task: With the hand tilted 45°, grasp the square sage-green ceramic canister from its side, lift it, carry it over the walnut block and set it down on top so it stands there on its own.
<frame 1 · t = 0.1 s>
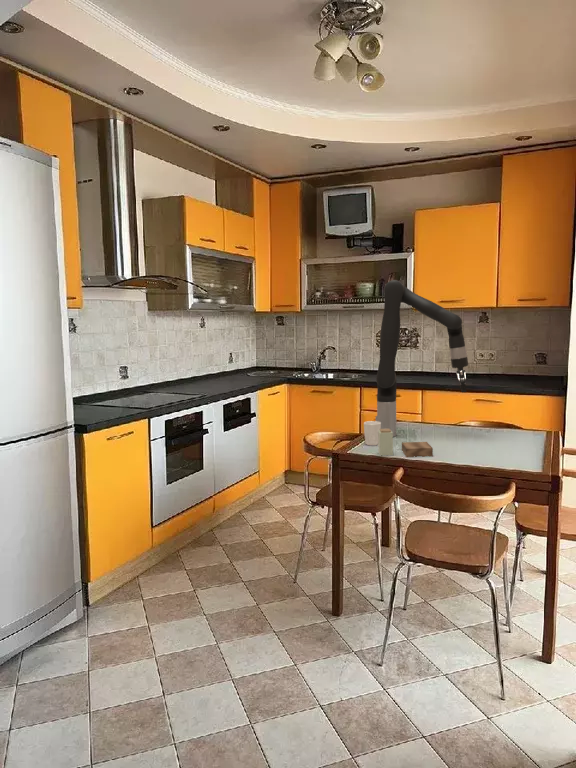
hand: (463, 390, 268), 22 cm above the table, tool pointing down, fingers open, 8 cm apart
canister: (385, 454, 246), on the table
white cup: (372, 444, 265), on the table
walnut block: (416, 454, 246), on the table
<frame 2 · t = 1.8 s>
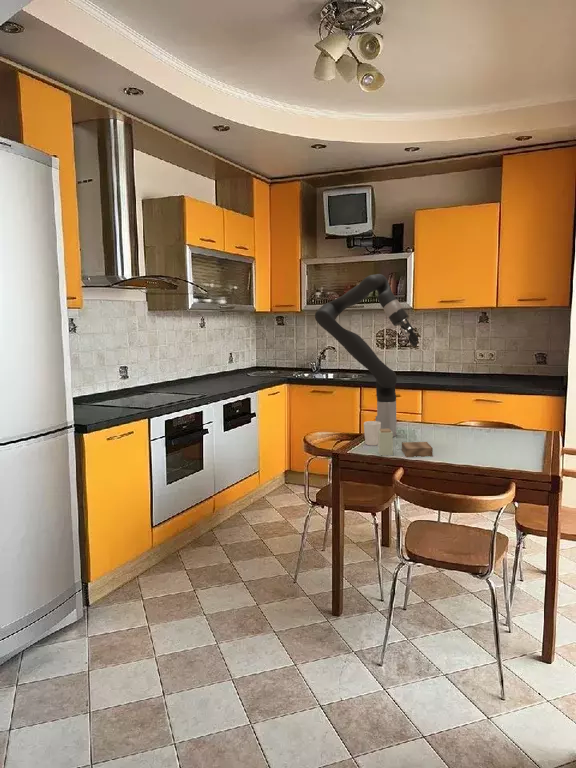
hand: (416, 343, 245), 47 cm above the table, tool tilted 35°, fingers open, 8 cm apart
nothing on the table moved.
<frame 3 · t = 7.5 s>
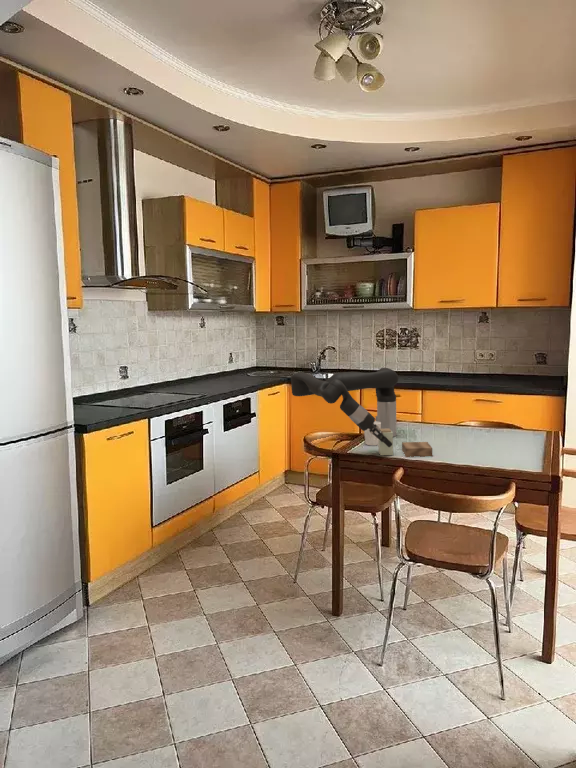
hand: (389, 443, 245), 4 cm above the table, tool tilted 45°, fingers closed on canister, 5 cm apart
canister: (385, 454, 246), on the table, touching gripper
everything else where it was.
when the fingers open (9 cm above the table, at t = 13.1 s): canister drops 1 cm, resting on walnut block.
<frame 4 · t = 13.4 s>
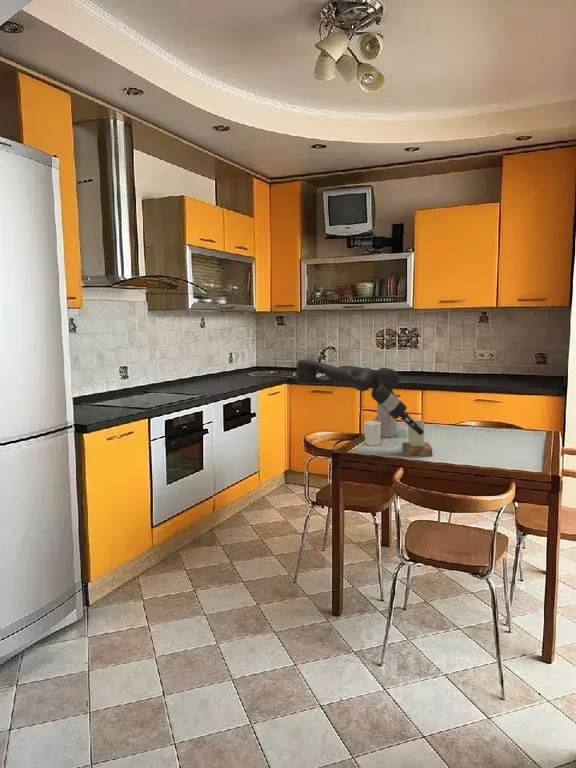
hand: (420, 431, 244), 10 cm above the table, tool tilted 45°, fingers open, 8 cm apart
canister: (416, 445, 245), point 4 cm above the table, touching walnut block
walnut block: (416, 454, 246), on the table, touching canister
everything else where it was.
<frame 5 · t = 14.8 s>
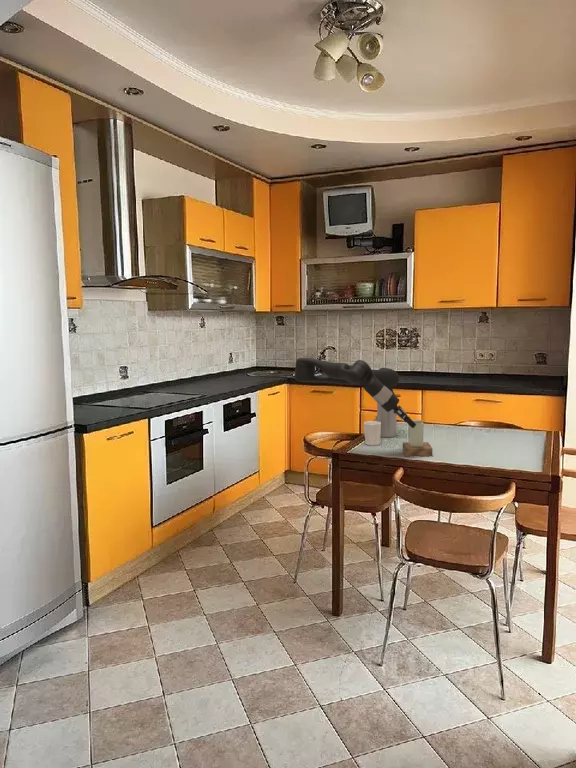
hand: (412, 424, 243), 13 cm above the table, tool tilted 45°, fingers open, 8 cm apart
canister: (415, 445, 245), point 4 cm above the table
walnut block: (417, 454, 246), on the table
everything else where it was.
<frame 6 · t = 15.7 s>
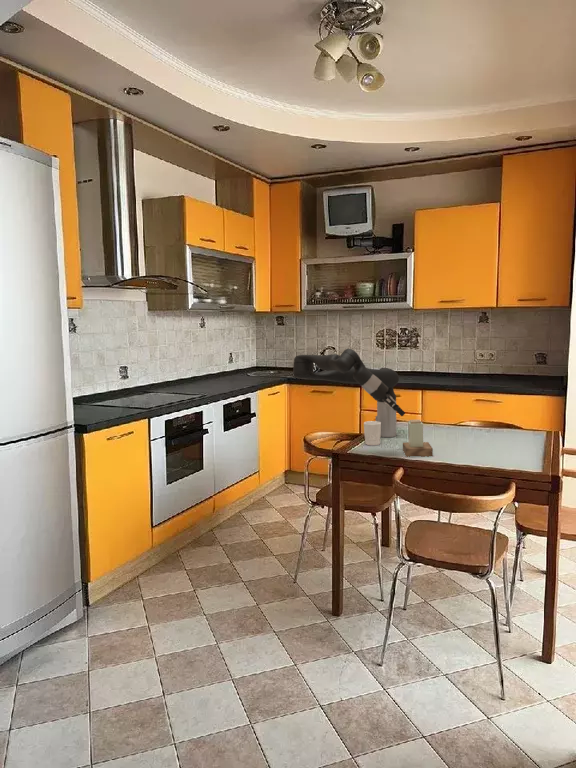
hand: (401, 412, 243), 18 cm above the table, tool tilted 45°, fingers open, 8 cm apart
nothing on the table moved.
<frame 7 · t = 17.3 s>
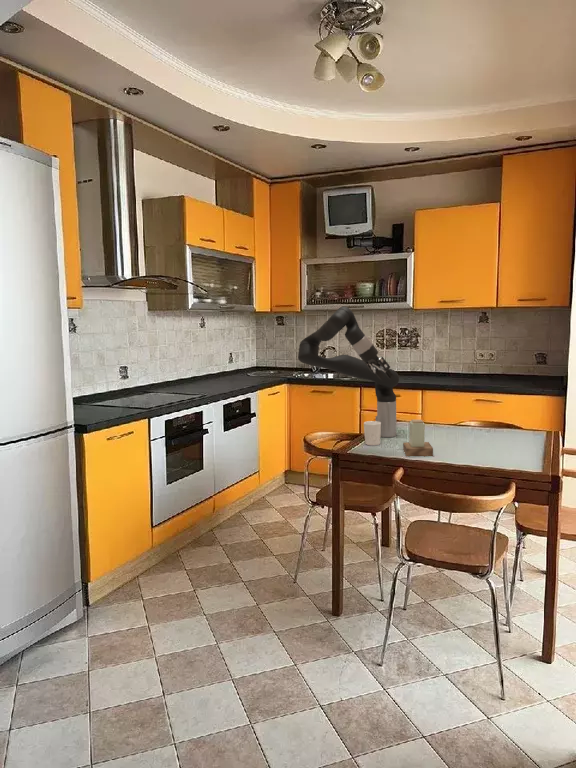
hand: (387, 378, 243), 33 cm above the table, tool tilted 35°, fingers open, 8 cm apart
nothing on the table moved.
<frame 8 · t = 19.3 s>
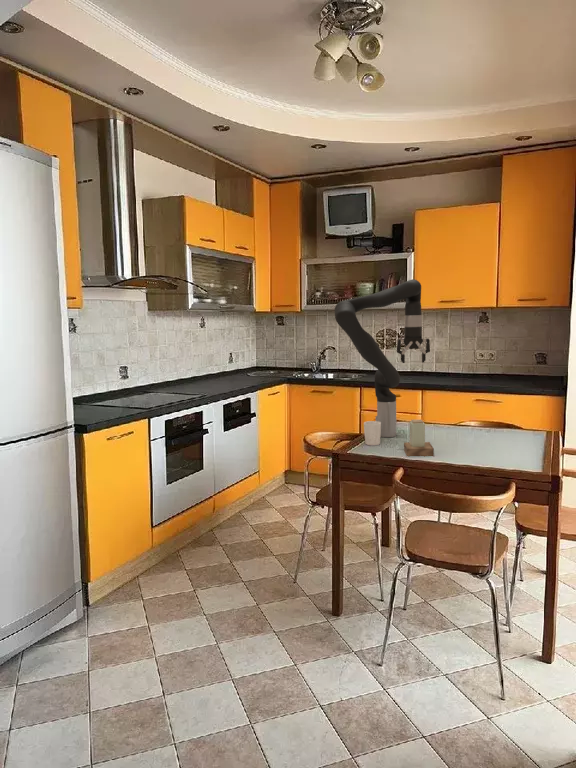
hand: (413, 362, 252), 38 cm above the table, tool pointing down, fingers open, 8 cm apart
canister: (417, 445, 245), point 3 cm above the table, touching walnut block
walnut block: (418, 454, 246), on the table, touching canister
everything else where it was.
at the end: canister inside the target area on the walnut block (0.5 cm from its centre), point 4.1 cm above the walnut block's base; canister tilted 1°; the gripper is holding nothing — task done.
